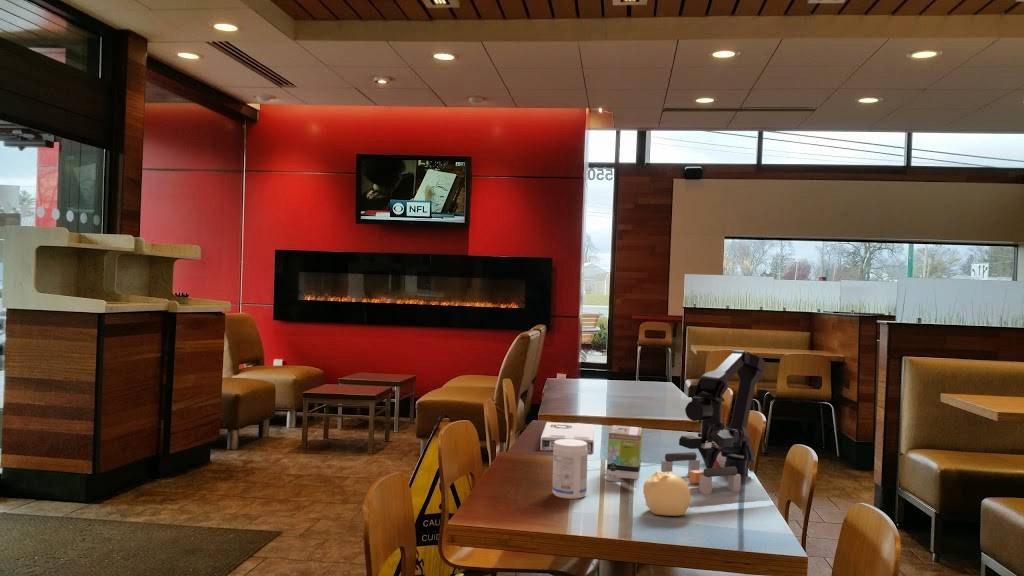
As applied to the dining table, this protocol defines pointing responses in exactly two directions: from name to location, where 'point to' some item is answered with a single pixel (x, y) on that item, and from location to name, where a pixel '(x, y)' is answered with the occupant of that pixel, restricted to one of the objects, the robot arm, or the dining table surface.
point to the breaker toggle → (695, 476)
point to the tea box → (624, 453)
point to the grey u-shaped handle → (691, 456)
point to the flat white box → (567, 434)
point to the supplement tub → (570, 468)
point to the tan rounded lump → (666, 494)
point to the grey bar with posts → (731, 472)
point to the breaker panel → (696, 485)
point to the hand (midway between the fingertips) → (709, 470)
